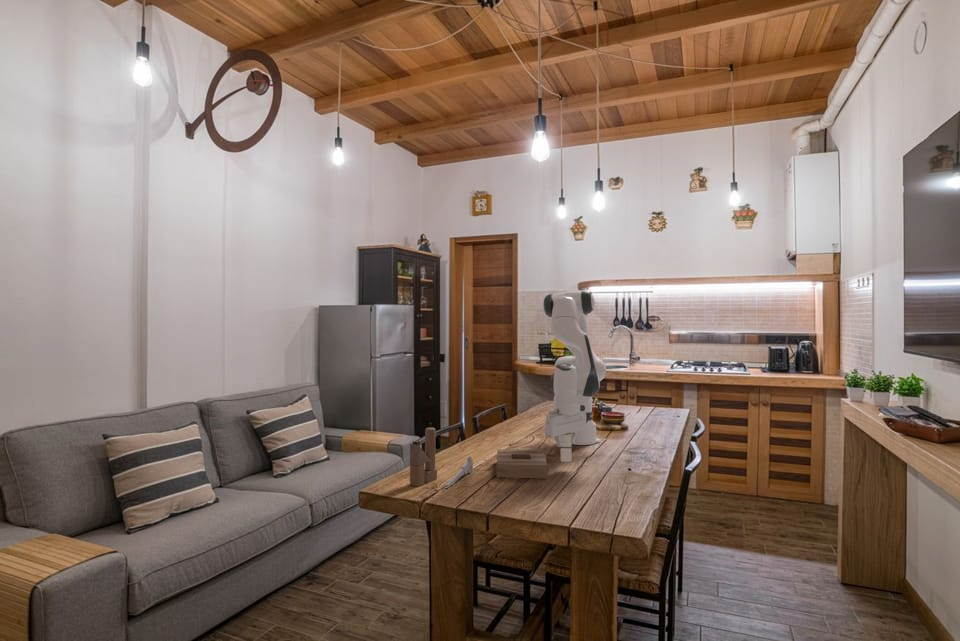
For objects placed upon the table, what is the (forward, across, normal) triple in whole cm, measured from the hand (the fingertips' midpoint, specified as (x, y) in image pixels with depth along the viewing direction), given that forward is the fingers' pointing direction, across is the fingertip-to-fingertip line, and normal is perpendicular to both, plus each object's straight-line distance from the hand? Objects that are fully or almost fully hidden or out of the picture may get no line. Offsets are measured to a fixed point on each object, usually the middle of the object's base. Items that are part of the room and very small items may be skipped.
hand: (565, 444), depth 190 cm
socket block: (+9, -12, +11) cm, 19 cm away
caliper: (+9, -37, +17) cm, 42 cm away
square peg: (+6, 0, 0) cm, 6 cm away
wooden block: (+9, -48, +23) cm, 54 cm away
